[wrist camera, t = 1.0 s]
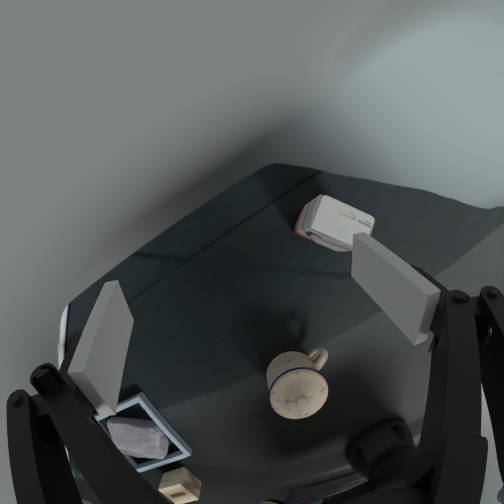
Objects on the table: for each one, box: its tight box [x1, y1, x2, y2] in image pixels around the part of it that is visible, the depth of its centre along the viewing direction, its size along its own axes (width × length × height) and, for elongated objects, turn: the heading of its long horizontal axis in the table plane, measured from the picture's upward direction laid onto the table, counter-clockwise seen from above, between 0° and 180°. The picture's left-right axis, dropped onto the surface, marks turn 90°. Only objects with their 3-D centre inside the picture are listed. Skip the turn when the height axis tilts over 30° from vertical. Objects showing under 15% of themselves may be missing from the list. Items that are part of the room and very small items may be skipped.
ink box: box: [293, 195, 375, 251], centre depth 42 cm, size 9×5×12 cm, turn 69°
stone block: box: [107, 416, 168, 459], centre depth 45 cm, size 12×5×10 cm
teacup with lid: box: [266, 348, 328, 419], centre depth 41 cm, size 12×9×12 cm
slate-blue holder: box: [93, 392, 192, 472], centre depth 45 cm, size 16×16×2 cm
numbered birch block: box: [158, 467, 201, 504], centre depth 43 cm, size 6×6×6 cm
